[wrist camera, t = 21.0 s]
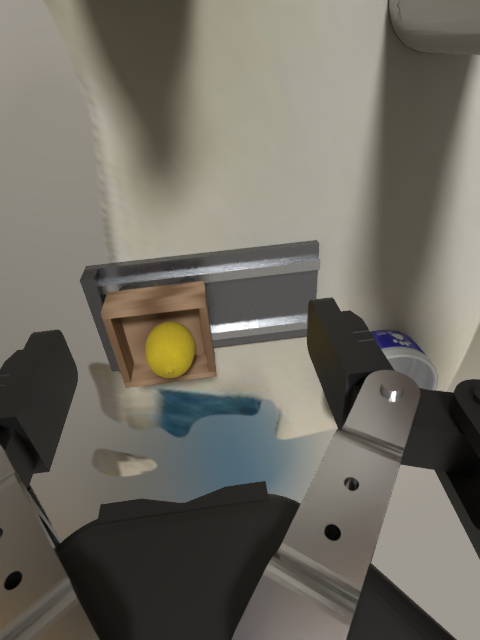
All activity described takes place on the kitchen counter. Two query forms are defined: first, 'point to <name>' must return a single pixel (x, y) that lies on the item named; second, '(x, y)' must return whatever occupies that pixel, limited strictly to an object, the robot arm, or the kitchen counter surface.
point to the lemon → (169, 349)
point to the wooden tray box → (146, 313)
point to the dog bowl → (407, 358)
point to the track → (224, 289)
